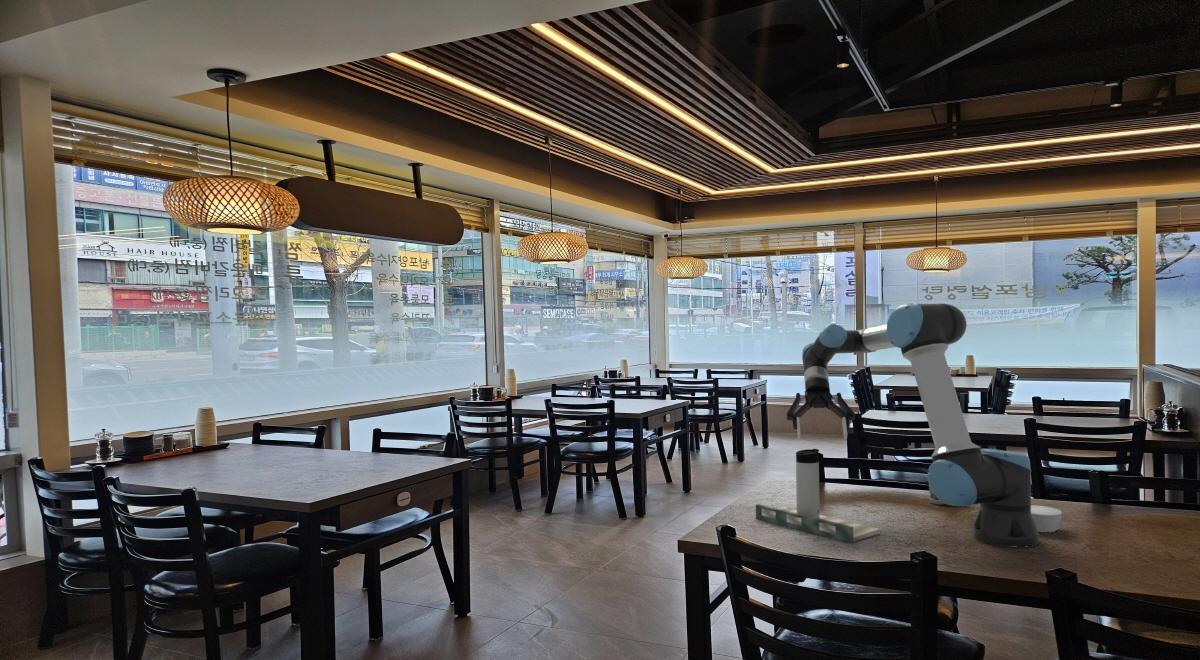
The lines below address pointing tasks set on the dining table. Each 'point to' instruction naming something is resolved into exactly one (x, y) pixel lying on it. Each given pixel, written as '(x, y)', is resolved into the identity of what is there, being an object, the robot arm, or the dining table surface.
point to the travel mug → (807, 482)
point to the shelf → (816, 523)
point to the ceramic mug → (934, 498)
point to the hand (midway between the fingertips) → (822, 436)
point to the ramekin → (1046, 518)
